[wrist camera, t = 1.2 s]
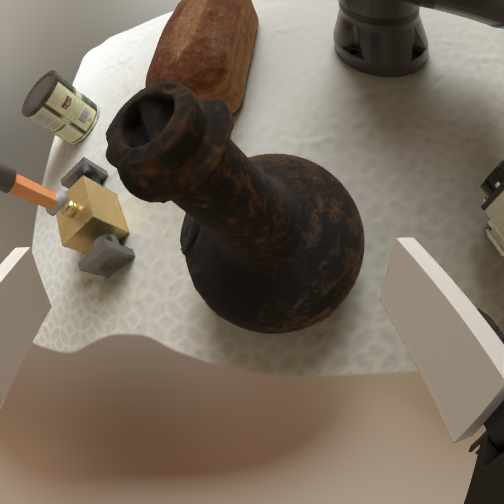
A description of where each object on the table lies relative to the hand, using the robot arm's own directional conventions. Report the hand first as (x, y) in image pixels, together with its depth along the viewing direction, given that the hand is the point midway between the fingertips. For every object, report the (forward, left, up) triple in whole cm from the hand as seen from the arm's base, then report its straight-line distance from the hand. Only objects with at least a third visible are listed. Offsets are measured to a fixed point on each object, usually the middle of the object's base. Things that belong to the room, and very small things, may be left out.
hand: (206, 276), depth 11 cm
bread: (-39, -17, -27) cm, 51 cm away
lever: (-10, -33, -16) cm, 38 cm away
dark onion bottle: (-6, -4, -27) cm, 28 cm away
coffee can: (-33, -49, -27) cm, 65 cm away
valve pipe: (-11, -33, -27) cm, 44 cm away
